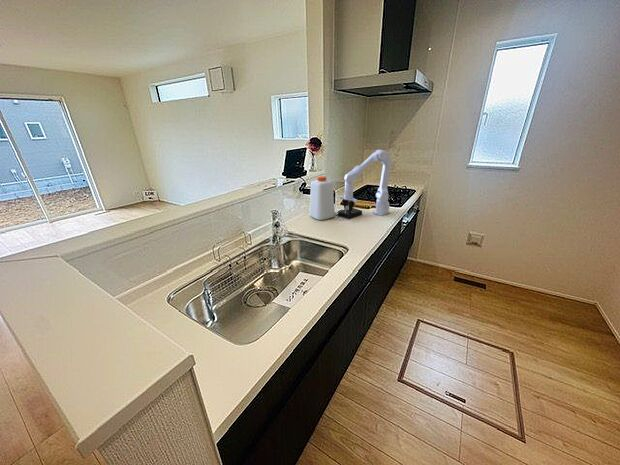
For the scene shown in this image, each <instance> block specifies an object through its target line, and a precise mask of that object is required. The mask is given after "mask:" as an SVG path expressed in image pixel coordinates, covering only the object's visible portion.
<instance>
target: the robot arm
mask: <svg viewBox="0 0 620 465" xmlns="http://www.w3.org/2000/svg"><path fill="white" fill-rule="evenodd" d="M374 162H381V164H382V169H381V174H380V181H379V187H378V188H377V191H376V193H375V198H376V200H375V201H376V202H375V210H374V211H373V212H372V214H375V215H378V216H385V215H387V214H390V202H389V198H390V197H389V190H388V187H389V186H388V185H389V180H390V175H391V170H392V169H391V168H392V158H391V156H390V153H389V152H388V151H386V150H383V149H376V150H375V151H374V152H372V153H371V154H370V155H369V156H368V158H366V159H365V160H364V161H363V162H362V163H361V164H360V165H354V167H353V169H352V170H351V171H348V173H346V174H345V175H344V177H343V179H344V195H340V197H339V198H340V200H341V202H342V205H343V210H345V206H346V205H349V211H352V209H353V208H354V205H355V204H356V203H358V199H357V198H355V197H354V182H355V180H356V179H357V178H358V177H359V176H360V175H361V174H363V173H364V170H365V169H366V168H367V167H368V166H370V165H371V164H372V163H374Z"/></svg>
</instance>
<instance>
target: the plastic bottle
mask: <svg viewBox="0 0 620 465" xmlns="http://www.w3.org/2000/svg"><path fill="white" fill-rule="evenodd" d="M309 193H310V194H309V200H310V201H309V216H310V217H311V218H313V219H314V220H316V221H317V220H318V221H324V220H329V219H332V218H334V217H335V215H336V214H335V199H334V198H335V196H334V183H333V181H332V180H329V179H327V176H324V175H320V176H317V177H316V179H315V180H311V183H310V192H309Z"/></svg>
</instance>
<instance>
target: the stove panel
mask: <svg viewBox="0 0 620 465" xmlns="http://www.w3.org/2000/svg"><path fill="white" fill-rule="evenodd" d="M337 215H338V217H341V218H344V219H347V220H350V219H353V218H356V217H359V216H362V215H363V210H361V209H359V208H355V207H353V209H352V211H350V212H346V211H345V209H342V210H339V211H337Z"/></svg>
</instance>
